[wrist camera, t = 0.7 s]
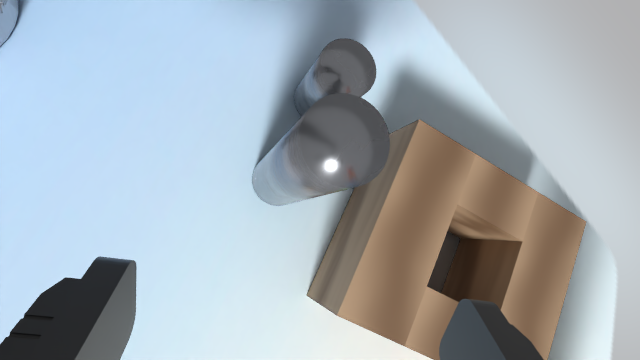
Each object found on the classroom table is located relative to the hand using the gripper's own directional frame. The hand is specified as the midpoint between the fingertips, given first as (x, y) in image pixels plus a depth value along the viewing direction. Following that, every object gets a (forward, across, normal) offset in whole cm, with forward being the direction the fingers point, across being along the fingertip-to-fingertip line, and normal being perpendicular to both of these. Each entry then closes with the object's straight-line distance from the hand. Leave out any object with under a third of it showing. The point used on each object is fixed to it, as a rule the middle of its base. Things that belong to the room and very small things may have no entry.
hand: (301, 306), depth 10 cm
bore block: (+19, -13, +11) cm, 26 cm away
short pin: (+24, -2, +1) cm, 25 cm away
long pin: (+20, 0, +6) cm, 21 cm away
